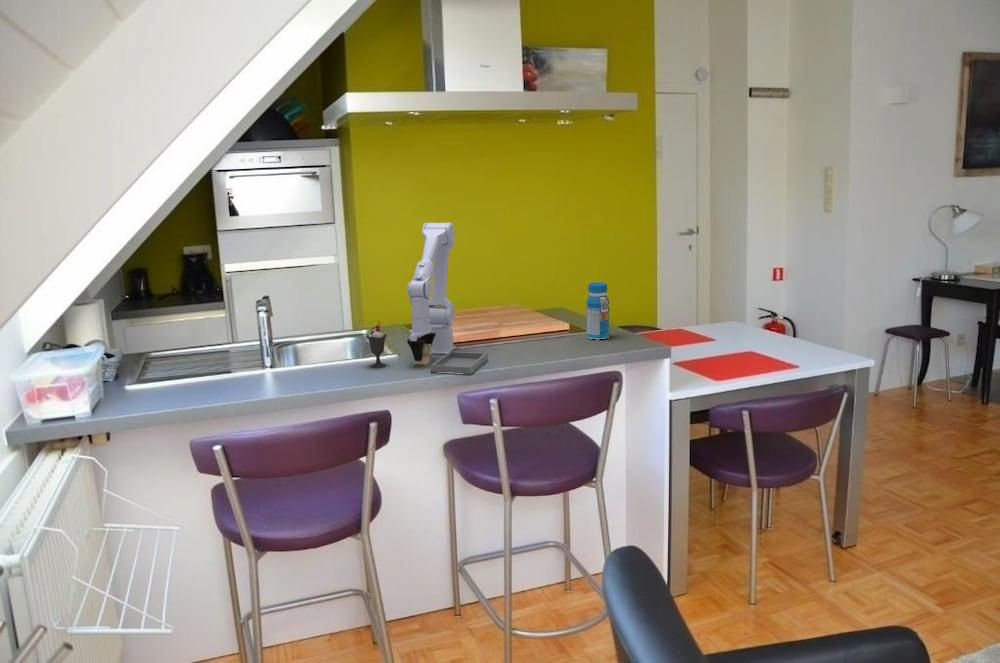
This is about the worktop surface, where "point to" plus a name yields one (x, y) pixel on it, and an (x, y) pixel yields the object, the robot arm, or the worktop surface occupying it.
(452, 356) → the tray
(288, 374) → the worktop surface
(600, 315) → the beverage bottle
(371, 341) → the sundae
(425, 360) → the block
